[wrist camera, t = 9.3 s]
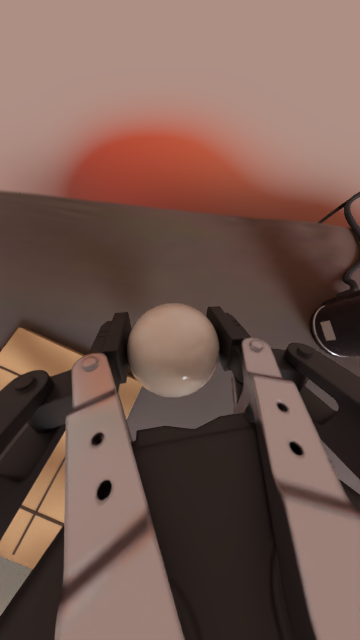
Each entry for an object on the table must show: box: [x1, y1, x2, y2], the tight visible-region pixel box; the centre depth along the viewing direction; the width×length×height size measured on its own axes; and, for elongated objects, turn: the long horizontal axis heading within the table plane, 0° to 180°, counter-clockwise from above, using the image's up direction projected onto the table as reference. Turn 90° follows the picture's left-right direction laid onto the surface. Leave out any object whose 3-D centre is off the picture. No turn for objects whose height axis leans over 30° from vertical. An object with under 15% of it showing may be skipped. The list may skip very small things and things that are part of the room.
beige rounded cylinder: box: [126, 303, 220, 398], centre depth 11 cm, size 5×5×9 cm
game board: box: [0, 327, 142, 569], centre depth 19 cm, size 20×18×2 cm
